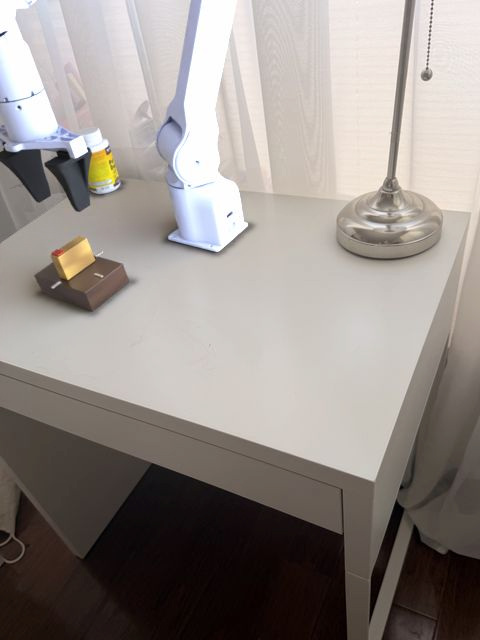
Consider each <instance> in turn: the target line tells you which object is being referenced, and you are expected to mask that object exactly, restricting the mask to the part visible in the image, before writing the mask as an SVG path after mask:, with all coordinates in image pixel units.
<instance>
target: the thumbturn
mask: <svg viewBox="0 0 480 640" xmlns="http://www.w3.org/2000/svg"><path fill="white" fill-rule="evenodd" d="M93 255H94V253H93V251H92V248H91V245H90V243H89V240H88V238H87V237H84V236H81V235H78V236H77V237H75V238H73V239H72V240H71V241H69V242H68V243H66V244H64V245H63V246H62V247H60V248H56V249H55V250H54V251H52V252H50V255H49V256H50V258H51V261H52V263H54V265H55V267H56V270H57V272H58V274H59V276H60V278H63V279H65V280H69V279H71V278H72V277H73V276H75V275H76V274H78V273H79V272H80V271H82V270H83V269H84V268H86V267H87V266H89V265H90V264H91V263H93V262H94V261H95V258H94V256H93Z"/></svg>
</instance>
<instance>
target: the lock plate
mask: <svg viewBox="0 0 480 640" xmlns="http://www.w3.org/2000/svg"><path fill="white" fill-rule="evenodd" d="M103 253H104V250H100V251H99V252H97V253H95V254H93V256H94V258H95V261H94V262H93V263H91V264H90V265H89V266H87V267H86V268H84V269H83V270H82V271H80V272H79V273H78V274H76V275H75V276H73V277H72V278H71V279H69V280H65V279H63V278H60V276H59V274H58V272H57V270H56V267H55V265H54V263H53V262H51V263H50V264H48V265H47V266H45V267H44V268H42V269H41V270H39V271H38V272H37V273H35V274H34V275H33V277H34V278H35V280H36V282H37V284H38V287H39V289H40V291H41V292H42V294H44V295H46V296H49V297H53V298H54V299H58V300H61V301H63V302H66V303H68V304H71V305H74V306H76V307H80V308H82V309H85V310H87V311H90V312H94V311H95V310H97V309H98V308H100V307H101V305H103V304H104V303H106V302H107V301H108V300H109V299H111V297H113V296H114V295H115V294H117V293H118V292H119V291H120V290H121V289H123V288H124V287H125V286H126V285H128V284H129V283H130V280H129V277H128V273H127V271H126V268H125V266H124V263H123V262H122V263H121V262H119V261H115V260H112V259H108V258H105V257H102V256H100V255H101V254H103Z"/></svg>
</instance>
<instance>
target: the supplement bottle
mask: <svg viewBox="0 0 480 640" xmlns="http://www.w3.org/2000/svg"><path fill="white" fill-rule="evenodd" d="M75 134H77V135H82V136H83V139H84V142H85V145H86V147H89V148H90V149H91V152H92V156H91V160H90V166H89V176H88V181H89V191H91V193H94V194H97V195H105V194H108V193H111V192H114V191H116V190H118V189H119V187H120V186H121V179H120V175H119V173H118V169H117V165H116V162H115V159H114V156H113V153H112V149H111V146H110V143H109V140H108V139H107V138H105V137H103V135H102V132H101V129H100V128H99V126H87V127H84V128H81V129H79V130H78V131H76V132H75Z"/></svg>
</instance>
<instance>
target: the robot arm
mask: <svg viewBox="0 0 480 640" xmlns="http://www.w3.org/2000/svg"><path fill="white" fill-rule="evenodd" d="M37 1H38V0H0V119H1V122H2V124H1V125H0V147H3V148H2V150H1V151H0V163H1V164H2V165H4V166H5V167H7V169H8V170H10V171H11V173H13V175H14V176H15V177H16V178H17V179H18V180H19V181H20V182H21V184H22V185H23V186H24V188H25V189H26V190H27V192H28V193H29V194H30V196H31V197H32V199H33V200H34V201H35V202H36V203H39V204H40V203H42V202H43V201H45V200H47V199H48V198H50V197H52V193H51V188H50V185H49V181H48V178H47V176H46V172H45V169H44V167H45V168H46V169H47V170H48V171H49V172H50V173H51V174H52V175H53V176H54V177H55V179H56V180H57V181H58V183H59V185H60V186H61V187H62V190H63V191H64V192H65V195H66V198H67V199H68V201H69V203H70V205H71V207H72V208H73V210H74V211H75V212H78V213H82V211H84V210H86V209H87V208H88V207H90V206H91V196H90V188H89V181H88V176H89V166H90V160H91V156H92V152H91V149H90V148H89V147H86V145H85V142H84V139H83V136H82V135H77V134H76V133H74V132H72V131H70V130H69V129H67V128H66V127H63V126H61V125H60V124H58V122H57V119H56V116H55V113H54V111H53V108H52V106H51V102H50V100H49V97H48V95H47V92H46V90H45V87H44V85H43V82H42V79H41V77H40V74H39V71H38V69H37V65H36V63H35V60H34V57H33V55H32V53H31V50H30V47H29V45H28V43H27V42H26V41H25V40H24V39H23V36H22V33H21V30H20V28H19V25H18V23H17V20H16V14H17V13H16V12H17V10H20V9H22V10H27V9H28V8H30V6H32V5H34V4H35V3H36V2H37ZM237 1H238V0H190V3H189V9H188V14H187V21H186V27H185V28H186V29H185V33H184V40H183V46H182V51H181V57H180V64H179V69H178V76H177V82H176V87H175V94H174V97H173V99H171V101H170V103H169V104H168V105H167V108H166V114H165V118H164V120H163V122H162V123H161V125H160V126H159V127H158V129H157V131H156V134H155V138H154V139H155V140H154V142H155V143H154V145H155V148H156V151H157V153H158V155H159V156H160V157H161V158H162V159H163V160H164V161H165V162H166V163H167V170H166V174H165V181H166V184H167V188H168V192H169V197H170V201H171V204H172V208H173V212H174V216H175V219H176V224H177V227H178V228H177V229H175V230H174V231H173V232H171V233H170V234H169V235H168V236H167V239H168V240H169V241H173V242H176V243H179V244H184V245H188V246H191V247H196V248H199V249H204V250H207V251H211V252H216V253H218V252H220V251H221V250H222V249H224V247H226V246H227V245H228V244H229V243H230V242H232V241H233V240H234V239H235V238H236V237H238V235H239V234H241V233H242V232H243V231H244V230H245V229H246V228H247V227H248V226H249V224H248V222H247V221H245V220H244V214H243V208H242V201H241V195H240V189H239V188H238V185H237V184H236V182H234V181H232V180H230V179H227V178H226V177H224V176H222V174H220V172H219V171H218V169H219V165H220V153H219V150H218V137H219V131H220V130H219V126H218V121H217V115H216V110H215V109H216V104H217V99H218V93H219V88H220V84H221V80H222V74H223V69H224V65H225V59H226V55H227V50H228V45H229V39H230V35H231V31H232V25H233V20H234V15H235V12H236V6H237ZM42 151H47V152H53V153H56V156H54V157H53V158H51V159H49V160H46V161H45V162H44V163H43V160H42ZM43 164H44V165H43Z"/></svg>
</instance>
